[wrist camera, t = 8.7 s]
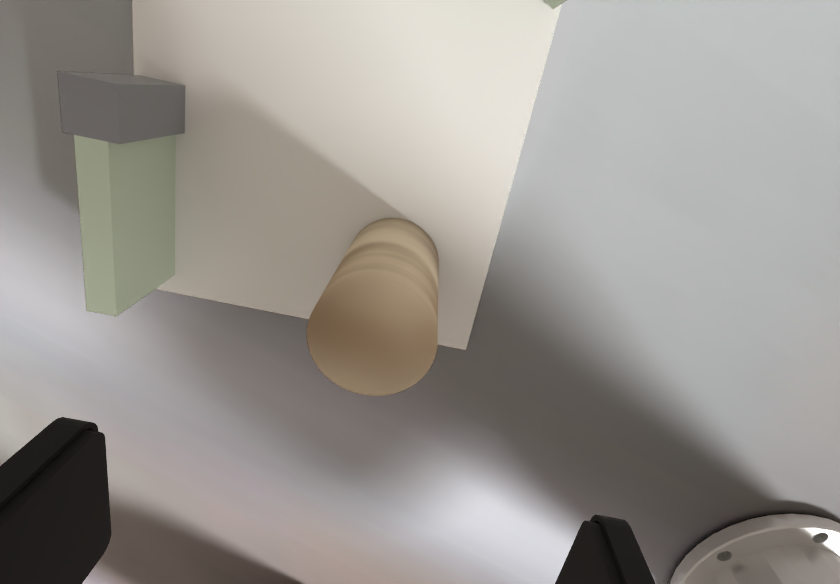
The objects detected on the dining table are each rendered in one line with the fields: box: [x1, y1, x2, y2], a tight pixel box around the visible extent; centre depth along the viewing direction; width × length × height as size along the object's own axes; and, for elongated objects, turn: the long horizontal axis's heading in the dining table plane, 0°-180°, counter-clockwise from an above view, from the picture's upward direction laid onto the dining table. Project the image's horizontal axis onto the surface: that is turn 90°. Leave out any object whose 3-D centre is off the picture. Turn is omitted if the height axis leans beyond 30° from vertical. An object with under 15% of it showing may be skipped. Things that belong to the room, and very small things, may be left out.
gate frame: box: [57, 0, 562, 350], centre depth 18 cm, size 27×17×5 cm, turn 168°
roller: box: [307, 218, 439, 396], centre depth 20 cm, size 4×4×8 cm
